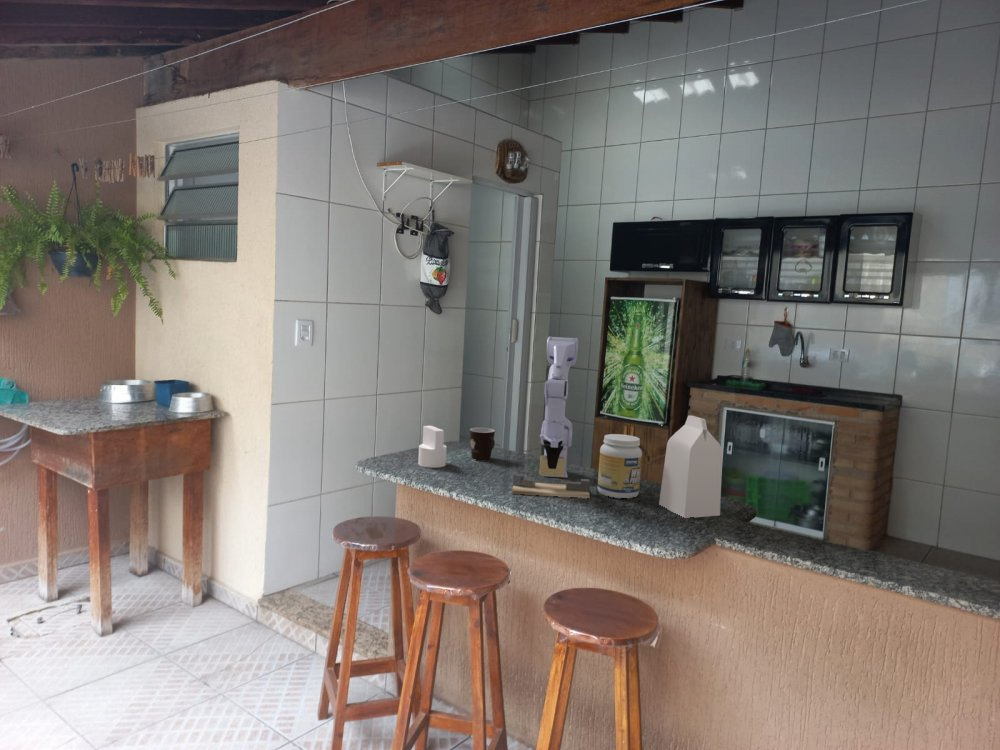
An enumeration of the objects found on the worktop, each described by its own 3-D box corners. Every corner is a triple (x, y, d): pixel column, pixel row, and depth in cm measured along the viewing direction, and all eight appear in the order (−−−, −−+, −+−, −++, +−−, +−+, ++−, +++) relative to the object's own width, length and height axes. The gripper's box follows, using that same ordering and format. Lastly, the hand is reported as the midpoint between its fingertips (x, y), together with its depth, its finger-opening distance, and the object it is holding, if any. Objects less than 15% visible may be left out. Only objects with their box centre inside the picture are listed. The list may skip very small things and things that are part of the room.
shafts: (512, 482, 206) (513, 473, 206) (587, 487, 206) (588, 477, 205) (512, 487, 202) (513, 476, 202) (589, 491, 201) (589, 481, 201)
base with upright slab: (450, 465, 227) (452, 429, 225) (426, 468, 222) (428, 431, 220) (437, 459, 234) (438, 424, 233) (413, 462, 229) (414, 426, 228)
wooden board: (513, 484, 208) (513, 481, 208) (586, 488, 208) (586, 485, 207) (512, 494, 198) (512, 490, 198) (589, 498, 198) (589, 495, 198)
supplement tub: (629, 502, 196) (633, 443, 194) (590, 494, 202) (594, 437, 200) (645, 493, 206) (649, 437, 204) (607, 485, 213) (610, 431, 211)
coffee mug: (467, 455, 243) (469, 427, 242) (492, 455, 244) (493, 427, 243) (469, 463, 231) (471, 434, 230) (495, 464, 232) (497, 434, 231)
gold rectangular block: (539, 471, 204) (540, 455, 204) (563, 473, 204) (564, 456, 204) (539, 475, 200) (540, 458, 200) (563, 477, 200) (565, 460, 200)
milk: (658, 504, 195) (666, 413, 192) (693, 502, 199) (700, 413, 196) (684, 518, 184) (692, 422, 181) (719, 515, 188) (728, 421, 185)
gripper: (540, 415, 208) (537, 459, 209) (541, 424, 193) (538, 472, 195) (563, 416, 208) (561, 461, 209) (566, 425, 193) (563, 473, 195)
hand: (551, 466), depth 202 cm, fingers closed on gold rectangular block, 4 cm apart
